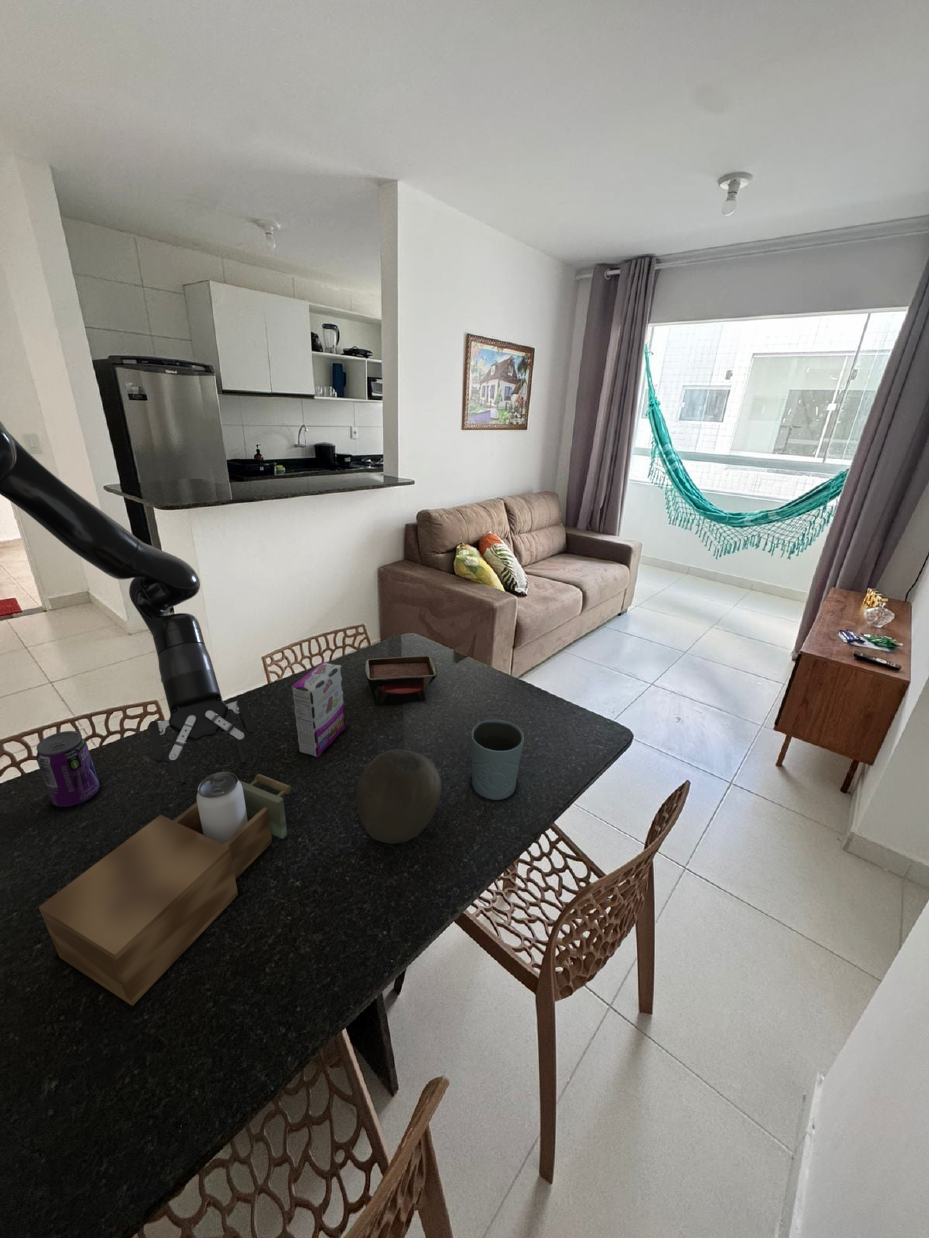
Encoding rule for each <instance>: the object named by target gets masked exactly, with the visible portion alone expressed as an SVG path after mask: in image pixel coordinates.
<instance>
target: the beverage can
mask: <svg viewBox="0 0 929 1238" xmlns="http://www.w3.org/2000/svg"><path fill="white" fill-rule="evenodd" d="M36 751H37V752H36V754H35V759H36V762H37V765H38V768H39V771H40V774H41V776H42V779H43V782H44V785H45V788H46V790H47V793H48V796H49V799H50V802H51V803H52V805H54V806H56V807H61V808H64V807H73V806H76V805H79V804H81V803H83V802H86V801H88V800H89V799H90V798H92V797H93V796H94V795H96V794H97V792H98V791H99V789H100V782H99V778H98V775H97V772H96V769H95V766H94V762H93V760H92V759H93V758H92V756H91V752H90V749H89V746H88V743H87V741H86V739H84V738H83V737H82V735H81V733H80V732H78V731H75V730H64V731H59V732H55V733H54V734H51V735H49V736H47V737H45V738H43V739H41V741H39V742H38V743H37V745H36Z"/></svg>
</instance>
